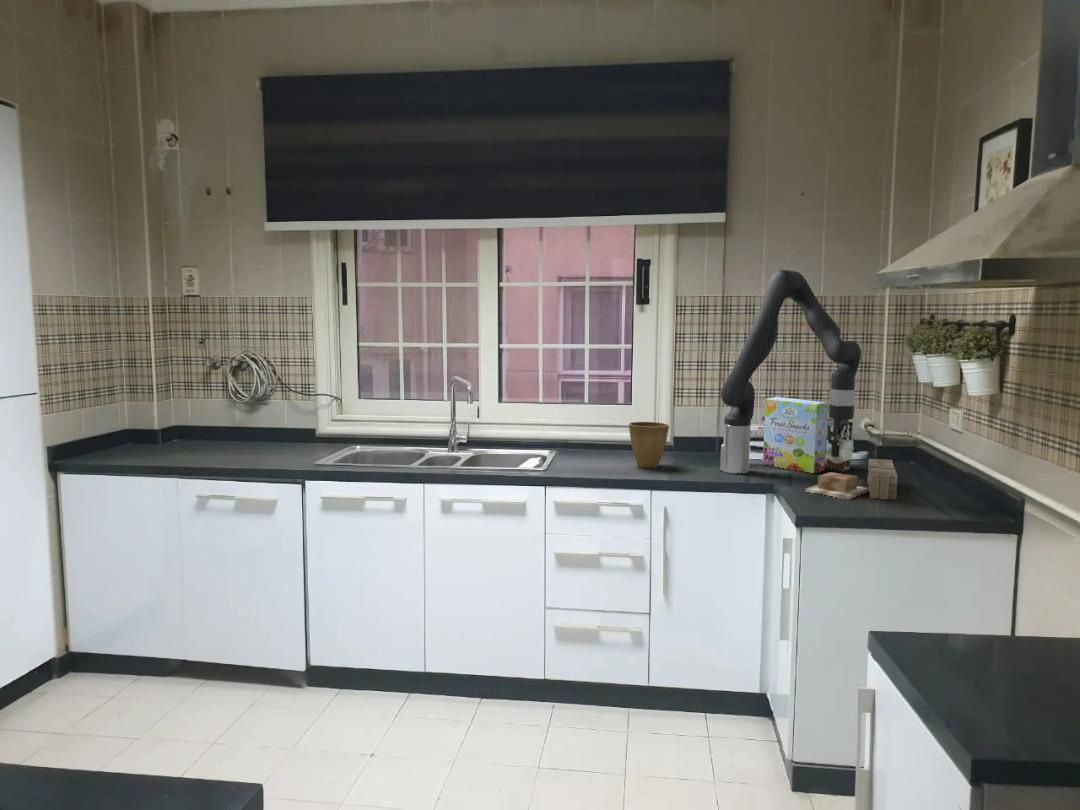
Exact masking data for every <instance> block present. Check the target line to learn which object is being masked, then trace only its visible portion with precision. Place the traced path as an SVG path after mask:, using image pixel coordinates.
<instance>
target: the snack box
mask: <svg viewBox="0 0 1080 810" xmlns="http://www.w3.org/2000/svg"><path fill="white" fill-rule="evenodd" d="M764 400H765V405H764V427H763V450H762V454H763V455H762V465H764V466H769V467H774V468H778V467H779V469H783V468H784V469H785V470H789V469H790V470H791V471H794V470H797V471H796V472H800V471H803V472H802V473H805V472H809V473H808V474H811V473H816V474H819V473H822V472H821V471H824V472H825V467H826V466H825V464H826V440H827V435H828V418H829V402H825V401H824V402H823V401H816V400H807V399H801V398H800V399H799V398H790V397H779V396H774V397H768V398H767V397H766V398H765V399H764ZM818 472H819V473H818Z"/></svg>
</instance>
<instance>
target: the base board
mask: <svg viewBox="0 0 1080 810" xmlns="http://www.w3.org/2000/svg"><path fill="white" fill-rule="evenodd" d="M817 477H818V478H817V484H815V485H812V486H809V487H807V488H805V489H804V490H805V491H804V492H805V493H806V492H811V493H810V494H812V493H818V494H823V495H822V496H824V495H828V496H827V497H829V496H833V497H832V498H835V497H837V498H836V499H841V498H842V499H843V500H851V499H853V498H856V496H857V497H859V496H861V494H862V495H864V494H866V493H868V492H870V491H869V487H865V486H858V475H852V474H846V473H845V474H843V473H838V472H831V471H830V472H827V473H823V474H820V475H818V476H817ZM818 494H817V495H818Z"/></svg>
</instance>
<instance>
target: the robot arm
mask: <svg viewBox="0 0 1080 810" xmlns="http://www.w3.org/2000/svg"><path fill="white" fill-rule="evenodd" d="M786 299H791V300H792V301H793V302H794V303H796V304H797V305H798V306H799V307H800V309H801V310H802V312H803V313H804V316H805V321H806V323H807V325H808V327H809V328H810V330H811V331H812V332H813V333H814V335H815V336H816V337H817V339H818V340H819V341H820V342H821V346H822V347H823V349H824V352H825V354H826V356H827V358H829V360H831V361H832V362H833V363H837V364H839V365H838V369H837V370H835V371H833V372H832V374H831V379H830V381H831V382H830V393H829V401H828V418H830V419H833V421H832V425H831V424H829V425H827V435H828V436H827V440H828V443H830V444H831V445H832V450H831V456H832V457H839V444H840V440H841V439H846V440H852V436H853V435H852V434H853V426H854V422H853V421H849V420H853V419H854V417H855V404H856V403H855V402H856V401H855V400H856V399H855V398H856V396H855V395H856V394H855V389H856V388H855V384H856V383H855V382H856V375H857V372H858V369H859V365H860V362H861V357H862V349H861V347H860V344H858V342H856V341H853V340H843V339H842V338H841V337H840V335H841V333H842V332H841V328H840V326H838V324H837V323H836V322H835V320H834V319H833V317H831V316H830V315H829V314H828V312H827V311H826V309H824V308H823V306H822V304H821V303H820V302H819V300H818V299H817V297H816V295H815V294H814V292H813V290H812V288H811V286H810V285H809V282H808V281H807V279H806V278H805V277H804V275H803V274H802V273H800V272H798V271H795V270H788V269H779V270H777V271H776V272H774V273H773V274H772V276H771V277H770V280H769V281H768V283H767V287H766V291H765V293H764V296H763V299H762V303H761V305H760V307H759V310H758V313H757V315H756V317H755V319H754V322H753V325H751V328H750V331H748V334H747V338H745V342H744V344H743V347H742V349H741V351H740V353H739V355H738V357H737V360H736V362H735V365H734V366H733V368H732V369H731V372H730V374H729V375H728V377H727V378H726V380H725V382H724V383H723V385H722V388H721V392H720V397H721V400H722V402H723V404H724V405H726V406H728V407H730V410H729V412H728V413H727V414H726V415H725V416H724V421H723V444H721V445H720V462H719V463H720V464H719V465H720V466H719V471H721V470H722V471H721V472H724V473H729V474H737V473H739V474H740V473H742V474H747V473H749V468H750V446H751V445H750V443H751V421H752V419H753V416H754V410H755V397H756V396H755V395H756V394H755V388H754V386H753V384H752V382H751V381H750V379H751V377H752V376H753V374H754V373H755V371H756V370H757V369H758V368H759V367H760V366H761V365H762V364H763V362H764V361H765V360H767V357H768V356H769V355H770V354H771V352H772V349H773V347H774V346H775V343H776V341H777V338H778V334H779V333H778V332H779V321H778V319H779V314H780V311H781V308H782V306H783V305H784V302H785V300H786ZM837 439H838V440H837ZM740 475H741V474H740Z"/></svg>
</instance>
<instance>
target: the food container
mask: <svg viewBox="0 0 1080 810" xmlns="http://www.w3.org/2000/svg"><path fill="white" fill-rule="evenodd" d="M827 440H828V439H826V450H827ZM854 450H855V446H854V444H853V451H854ZM851 460H852V459H850V460H847V461H839V460H832V459H826V458H825V464H826V465H827V466H830V467H833V468H836V469H839V470H838V471H840V470H842V471H841V472H844V471H846V472H849V471H850V468H851ZM836 469H835V470H836ZM848 470H849V471H848Z"/></svg>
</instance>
